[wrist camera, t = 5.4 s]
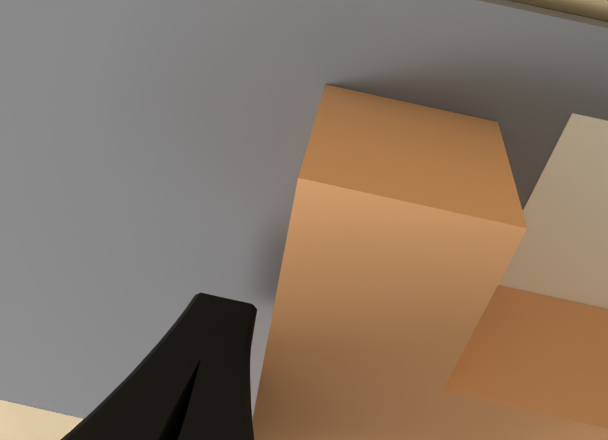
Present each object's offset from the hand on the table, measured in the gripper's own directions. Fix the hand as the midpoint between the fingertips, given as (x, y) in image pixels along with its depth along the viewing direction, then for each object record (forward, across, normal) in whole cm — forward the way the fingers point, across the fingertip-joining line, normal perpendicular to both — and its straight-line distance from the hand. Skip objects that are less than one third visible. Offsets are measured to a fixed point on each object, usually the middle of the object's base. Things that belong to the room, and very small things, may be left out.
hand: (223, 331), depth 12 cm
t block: (+1, -6, 0) cm, 6 cm away
